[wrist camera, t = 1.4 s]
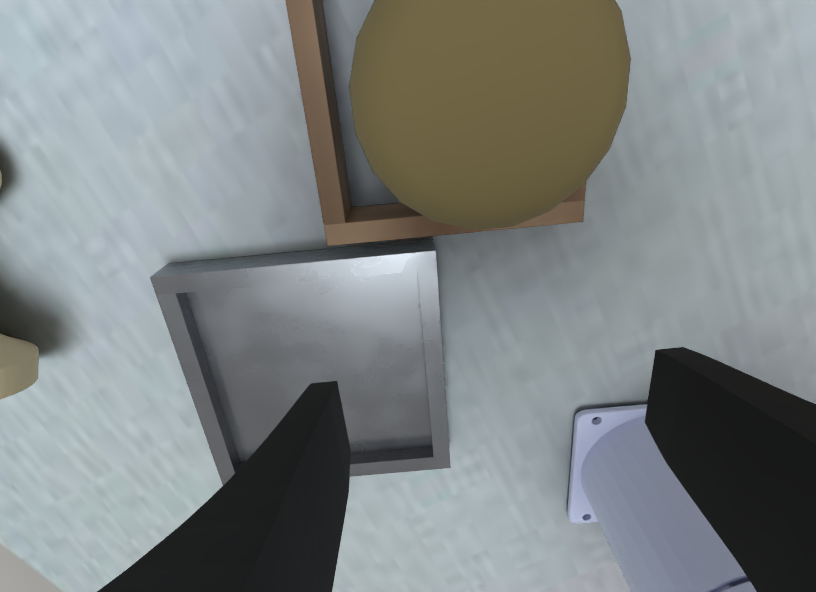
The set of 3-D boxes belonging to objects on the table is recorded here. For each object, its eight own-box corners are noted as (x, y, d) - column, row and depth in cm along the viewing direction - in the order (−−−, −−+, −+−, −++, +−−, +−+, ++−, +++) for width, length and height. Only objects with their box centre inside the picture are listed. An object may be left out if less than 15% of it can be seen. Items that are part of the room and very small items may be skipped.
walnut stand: (574, -77, 15) (606, -106, 13) (560, 206, 19) (583, 222, 17) (291, -47, 15) (273, -72, 13) (335, 227, 19) (327, 245, 17)
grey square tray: (432, 238, 20) (435, 250, 18) (447, 445, 24) (450, 467, 23) (168, 263, 20) (149, 277, 18) (233, 463, 25) (223, 487, 23)
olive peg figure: (359, 169, 18) (316, 264, 8) (363, -7, 16) (308, -173, 6) (507, 179, 19) (635, 280, 9) (533, 7, 16) (756, -130, 6)
